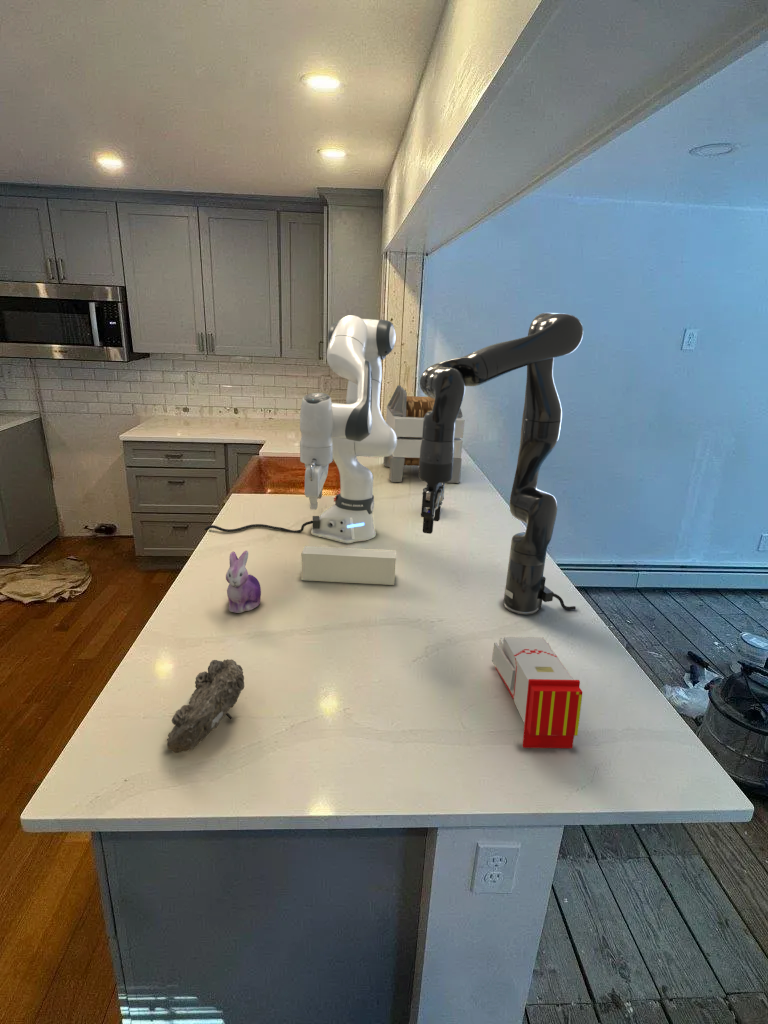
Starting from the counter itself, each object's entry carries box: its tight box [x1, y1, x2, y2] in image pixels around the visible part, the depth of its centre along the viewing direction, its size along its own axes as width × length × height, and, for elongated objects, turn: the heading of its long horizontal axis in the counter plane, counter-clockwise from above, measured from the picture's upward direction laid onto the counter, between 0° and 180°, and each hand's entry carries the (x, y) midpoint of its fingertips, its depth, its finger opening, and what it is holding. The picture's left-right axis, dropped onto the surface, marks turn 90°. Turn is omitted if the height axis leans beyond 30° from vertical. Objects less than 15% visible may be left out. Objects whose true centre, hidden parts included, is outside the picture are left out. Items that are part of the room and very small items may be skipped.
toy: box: [491, 636, 583, 749], centre depth 115 cm, size 12×13×30 cm
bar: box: [300, 545, 397, 586], centre depth 164 cm, size 27×6×8 cm, turn 88°
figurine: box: [225, 550, 262, 614], centre depth 146 cm, size 9×10×15 cm
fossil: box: [166, 658, 245, 754], centre depth 106 cm, size 22×10×15 cm
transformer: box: [383, 384, 465, 484], centre depth 268 cm, size 34×33×41 cm
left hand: (316, 503), depth 158 cm, fingers open, 8 cm apart
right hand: (431, 526), depth 131 cm, fingers open, 8 cm apart
